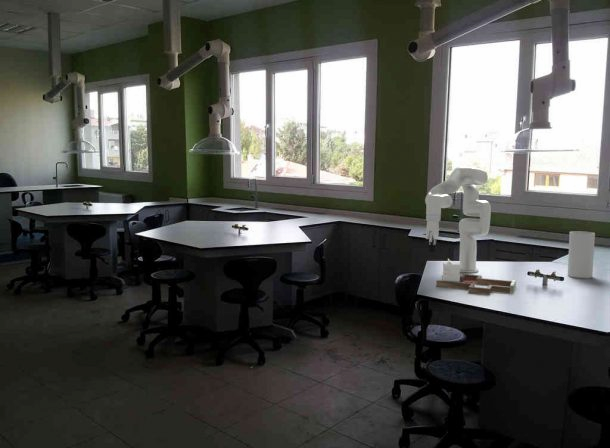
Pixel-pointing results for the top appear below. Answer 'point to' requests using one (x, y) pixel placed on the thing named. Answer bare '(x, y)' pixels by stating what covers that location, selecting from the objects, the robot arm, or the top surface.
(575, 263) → the cylinder vase
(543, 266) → the top surface
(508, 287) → the trap lane
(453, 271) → the ink box
